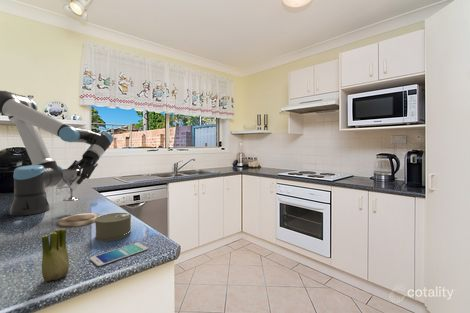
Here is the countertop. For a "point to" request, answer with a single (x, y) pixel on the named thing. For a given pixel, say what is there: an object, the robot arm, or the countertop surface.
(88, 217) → the trivet
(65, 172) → the wine glass
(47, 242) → the fennel bulb
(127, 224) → the can
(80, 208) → the countertop surface
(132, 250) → the smartphone
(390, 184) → the countertop surface
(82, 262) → the countertop surface
